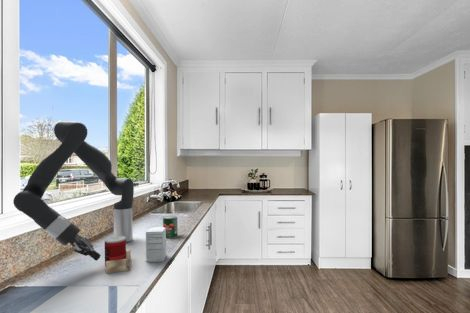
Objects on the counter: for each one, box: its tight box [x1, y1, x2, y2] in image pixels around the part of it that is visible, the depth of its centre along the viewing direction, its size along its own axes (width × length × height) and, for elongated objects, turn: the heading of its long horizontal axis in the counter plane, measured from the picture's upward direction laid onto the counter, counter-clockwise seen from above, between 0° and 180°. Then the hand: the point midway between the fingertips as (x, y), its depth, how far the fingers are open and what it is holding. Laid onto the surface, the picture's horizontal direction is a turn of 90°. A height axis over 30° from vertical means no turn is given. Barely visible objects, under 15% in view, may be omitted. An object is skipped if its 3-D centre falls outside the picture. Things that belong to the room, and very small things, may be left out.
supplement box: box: [145, 226, 167, 263], centre depth 119 cm, size 7×7×13 cm
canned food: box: [104, 236, 127, 268], centre depth 111 cm, size 8×8×11 cm
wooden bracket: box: [105, 249, 132, 274], centre depth 112 cm, size 8×13×4 cm, turn 20°
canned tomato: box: [162, 215, 179, 240], centre depth 154 cm, size 8×8×11 cm
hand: (98, 258), depth 109 cm, fingers closed
